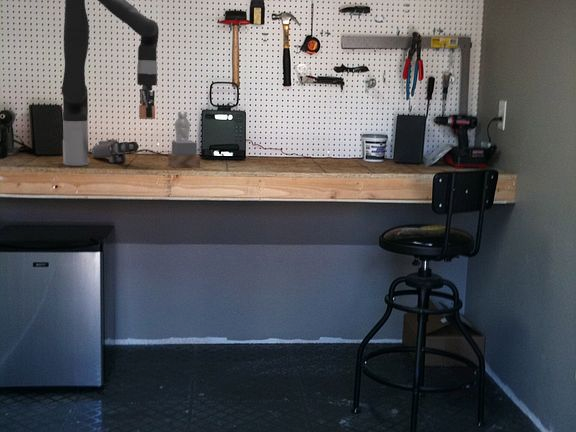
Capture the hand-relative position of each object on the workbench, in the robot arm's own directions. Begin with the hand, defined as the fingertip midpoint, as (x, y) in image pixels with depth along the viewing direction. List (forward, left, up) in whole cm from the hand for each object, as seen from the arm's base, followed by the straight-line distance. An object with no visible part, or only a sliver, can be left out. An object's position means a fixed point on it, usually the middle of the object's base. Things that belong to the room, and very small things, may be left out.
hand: (146, 116), depth 293 cm
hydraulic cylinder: (-9, +20, -20) cm, 30 cm away
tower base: (+15, 0, -20) cm, 25 cm away
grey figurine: (+21, +23, -20) cm, 37 cm away
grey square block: (+15, 0, -15) cm, 21 cm away
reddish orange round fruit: (0, 0, -1) cm, 1 cm away
